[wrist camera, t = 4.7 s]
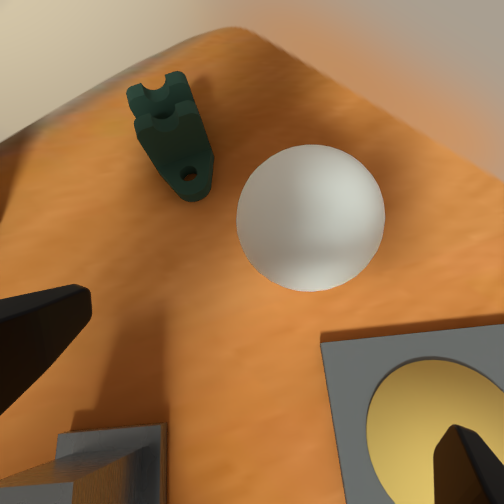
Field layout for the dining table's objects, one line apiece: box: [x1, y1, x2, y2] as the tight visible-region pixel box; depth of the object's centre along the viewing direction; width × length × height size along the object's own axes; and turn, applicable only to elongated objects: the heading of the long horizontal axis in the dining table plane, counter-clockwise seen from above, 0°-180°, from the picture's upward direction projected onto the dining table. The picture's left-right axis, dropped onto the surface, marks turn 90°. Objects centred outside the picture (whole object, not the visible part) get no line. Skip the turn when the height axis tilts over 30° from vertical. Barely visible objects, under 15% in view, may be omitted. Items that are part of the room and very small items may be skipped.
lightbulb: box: [236, 145, 385, 292], centre depth 16 cm, size 6×6×11 cm
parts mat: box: [320, 324, 504, 504], centre depth 16 cm, size 11×11×1 cm
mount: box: [126, 71, 214, 202], centre depth 24 cm, size 11×4×5 cm, turn 19°
